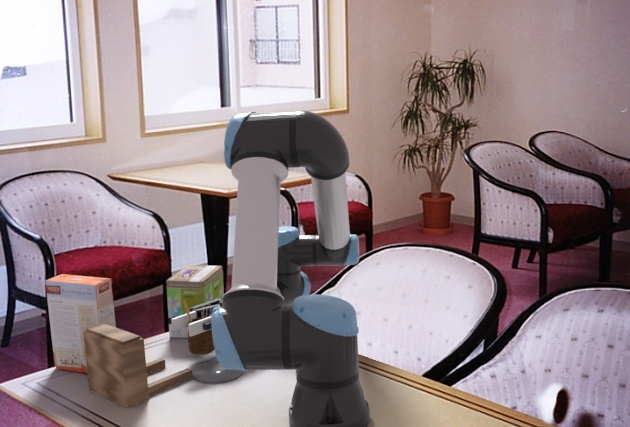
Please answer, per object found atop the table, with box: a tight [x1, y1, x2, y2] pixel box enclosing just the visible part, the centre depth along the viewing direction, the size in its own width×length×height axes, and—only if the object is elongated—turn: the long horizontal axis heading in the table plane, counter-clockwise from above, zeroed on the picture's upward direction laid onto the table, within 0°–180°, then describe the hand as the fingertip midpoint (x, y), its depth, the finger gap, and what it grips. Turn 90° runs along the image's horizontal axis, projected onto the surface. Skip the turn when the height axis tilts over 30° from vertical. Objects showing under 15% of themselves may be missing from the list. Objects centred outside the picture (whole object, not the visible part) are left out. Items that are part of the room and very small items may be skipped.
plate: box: [192, 360, 245, 384], centre depth 176 cm, size 11×11×1 cm
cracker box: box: [44, 273, 117, 374], centre depth 180 cm, size 14×6×21 cm, turn 65°
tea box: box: [165, 264, 225, 339], centre depth 204 cm, size 15×10×15 cm, turn 168°
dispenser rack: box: [83, 323, 194, 409], centre depth 171 cm, size 14×18×14 cm
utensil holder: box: [183, 300, 215, 356], centre depth 182 cm, size 6×6×12 cm
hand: (181, 327), depth 178 cm, fingers closed on utensil holder, 5 cm apart
